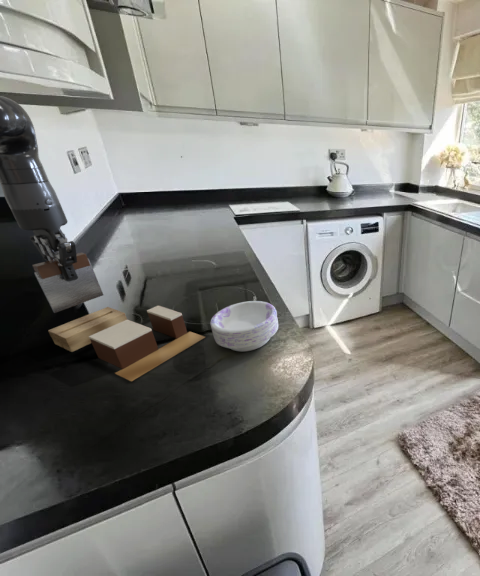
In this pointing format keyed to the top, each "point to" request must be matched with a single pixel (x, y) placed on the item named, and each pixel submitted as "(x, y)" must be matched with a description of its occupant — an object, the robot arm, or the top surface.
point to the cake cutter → (67, 283)
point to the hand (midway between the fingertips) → (69, 278)
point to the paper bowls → (245, 325)
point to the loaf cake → (124, 343)
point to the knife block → (85, 328)
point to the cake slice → (167, 321)
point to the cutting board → (159, 356)
